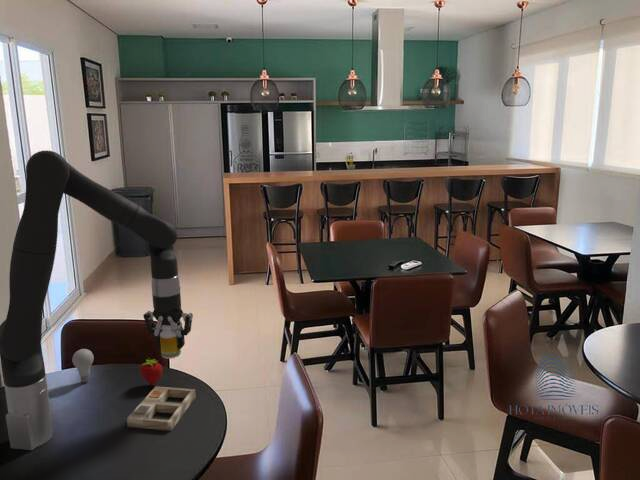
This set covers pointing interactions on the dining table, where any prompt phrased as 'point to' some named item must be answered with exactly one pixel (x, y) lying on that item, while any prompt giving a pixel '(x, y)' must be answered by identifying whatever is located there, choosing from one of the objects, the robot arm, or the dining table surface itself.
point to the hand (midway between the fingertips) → (170, 347)
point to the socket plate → (161, 408)
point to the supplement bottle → (169, 342)
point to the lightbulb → (83, 363)
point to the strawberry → (151, 371)
